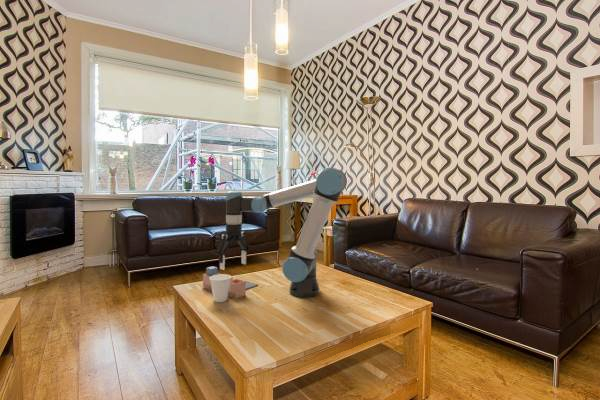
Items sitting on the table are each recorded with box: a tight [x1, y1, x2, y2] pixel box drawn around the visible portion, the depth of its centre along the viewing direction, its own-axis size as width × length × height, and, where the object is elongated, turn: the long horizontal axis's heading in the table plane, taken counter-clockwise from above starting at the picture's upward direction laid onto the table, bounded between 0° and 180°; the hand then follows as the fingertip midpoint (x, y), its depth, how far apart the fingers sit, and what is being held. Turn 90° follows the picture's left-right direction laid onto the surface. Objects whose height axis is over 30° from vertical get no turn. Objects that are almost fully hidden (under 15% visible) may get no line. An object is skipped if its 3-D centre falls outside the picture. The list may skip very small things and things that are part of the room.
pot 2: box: [228, 278, 247, 299], centre depth 156 cm, size 6×6×7 cm
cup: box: [209, 273, 232, 303], centre depth 149 cm, size 10×10×11 cm
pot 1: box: [202, 272, 220, 291], centre depth 167 cm, size 6×6×7 cm
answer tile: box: [245, 280, 259, 291], centre depth 170 cm, size 10×10×1 cm
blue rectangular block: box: [205, 265, 218, 276], centre depth 167 cm, size 4×4×8 cm
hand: (233, 266), depth 156 cm, fingers open, 13 cm apart
